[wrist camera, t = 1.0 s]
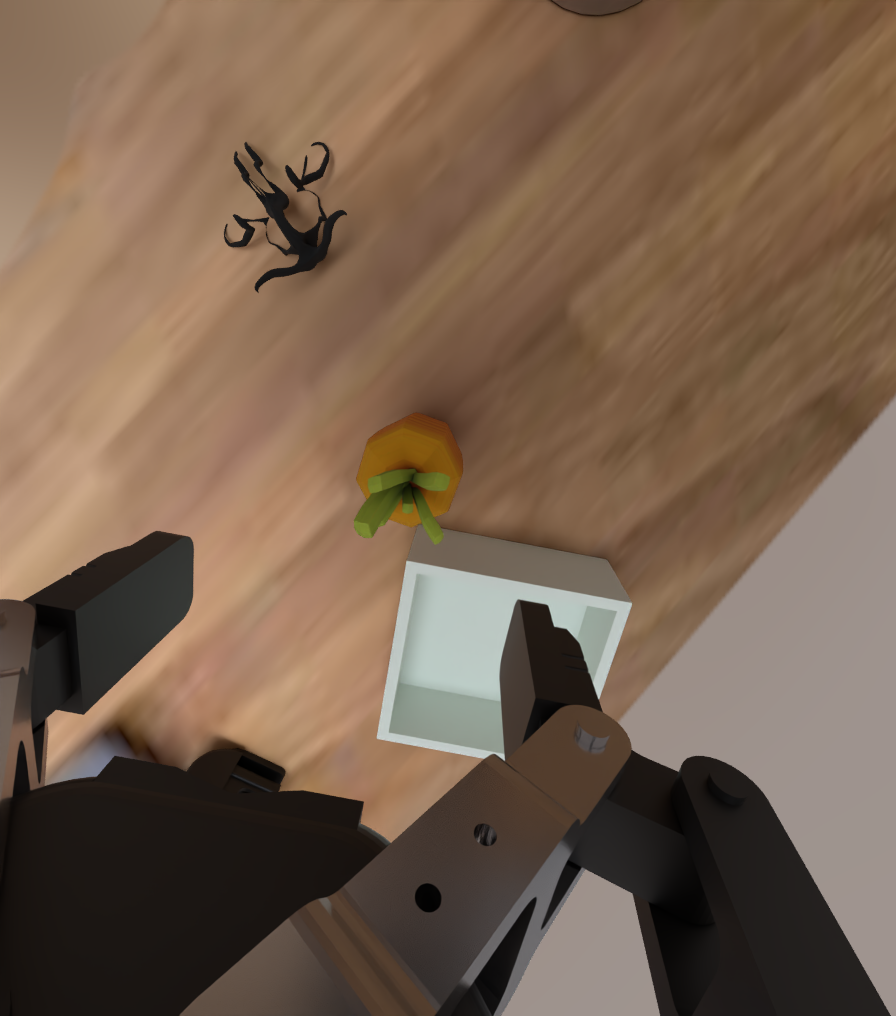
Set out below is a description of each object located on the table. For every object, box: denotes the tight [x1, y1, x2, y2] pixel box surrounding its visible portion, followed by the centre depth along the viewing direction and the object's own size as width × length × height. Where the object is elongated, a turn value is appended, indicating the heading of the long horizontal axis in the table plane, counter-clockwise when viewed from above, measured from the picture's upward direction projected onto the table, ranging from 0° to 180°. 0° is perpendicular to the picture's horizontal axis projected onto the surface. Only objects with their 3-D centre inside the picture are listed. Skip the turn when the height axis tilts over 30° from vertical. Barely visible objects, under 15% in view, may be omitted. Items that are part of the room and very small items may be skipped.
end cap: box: [187, 748, 285, 793], centre depth 41 cm, size 10×7×7 cm
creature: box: [224, 142, 347, 293], centre depth 27 cm, size 8×5×8 cm
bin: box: [377, 524, 632, 761], centre depth 34 cm, size 13×13×6 cm
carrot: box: [354, 413, 463, 545], centre depth 25 cm, size 5×5×15 cm
